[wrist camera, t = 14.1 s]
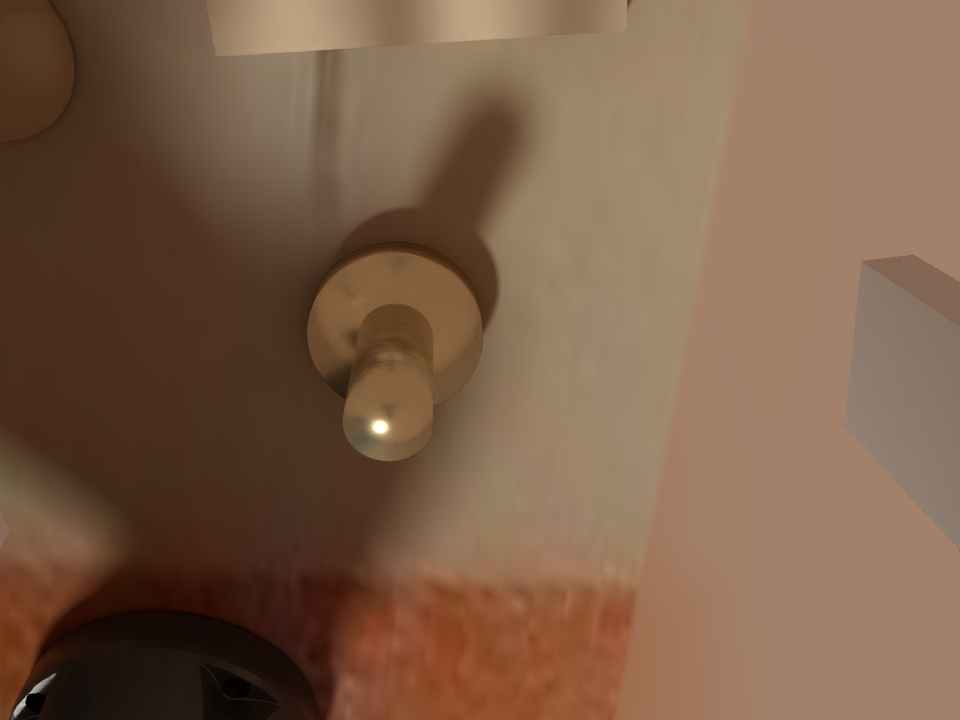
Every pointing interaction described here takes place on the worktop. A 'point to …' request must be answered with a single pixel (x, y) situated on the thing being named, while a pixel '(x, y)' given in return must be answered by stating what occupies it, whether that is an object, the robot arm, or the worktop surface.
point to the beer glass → (32, 68)
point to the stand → (394, 343)
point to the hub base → (397, 22)
